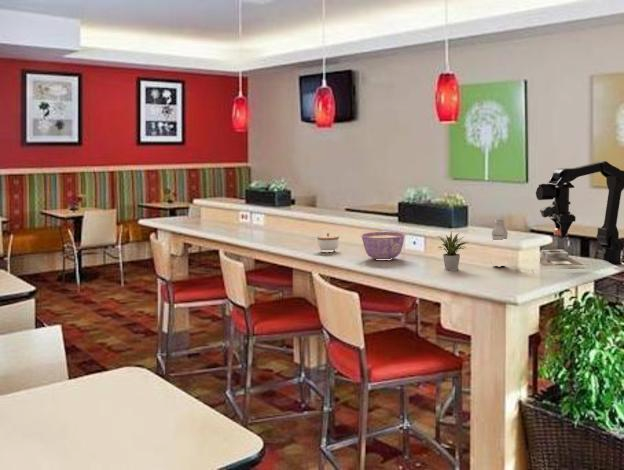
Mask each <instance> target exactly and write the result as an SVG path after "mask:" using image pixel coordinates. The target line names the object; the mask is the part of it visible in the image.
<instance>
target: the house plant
mask: <svg viewBox="0 0 624 470" xmlns="http://www.w3.org/2000/svg"><path fill="white" fill-rule="evenodd" d="M458 235H460V232H459V233H457V234H455V235H454V236H453V230H451V232H450V236H448V235H447V234H446V235H445V237H446V239H444V238H443V236H442V235H439V236H437V237H438V238H440V240H441V241H442V242H443V243H442V244H441V245H442V246H438V247H437V249H438V250H440V251H441V249H442V250H444V251H445V252H446V253H443V254H442V256H443V257H442V258H443V262H444V268H445V269H444V270H446V271H457V270H458V269H459V263H460V258H461V254H460V253H457V252H458V251H459V250H465V249H468V248H467V247H466V246H464V247H462V246H463V245H465V244H469V241H468V242H465V241H464V242H460V241H461V240H462V239H464V238H465V237H466V235H465V236H462V237H460V238H458Z"/></svg>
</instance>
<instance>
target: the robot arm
mask: <svg viewBox="0 0 624 470" xmlns="http://www.w3.org/2000/svg"><path fill="white" fill-rule="evenodd" d="M597 173H600V174H601V175H602V176H603V177H604V178H606V186H607V190H608V194H607V201H606V207H605V214H604V219H603V220H604V221H603V225H602V226H601V227H597V234H596V236H595V237H596V238H597V242H598V243H599V245H600V248H601V249H602V252H601V261H605V262H607V263H610V264H611V265H622V264H623V263H622V262H621V255H622V254H621V251H623V250H624V243H623V242H622V241H621V240H620V237H619V235H620V233H619V229H618V227H617V225H618V224H617V222H618V217H619V210H620V204H621V197H622V192H623V190H624V170H623V169H622V170H621V169H620V168H619V167H617V166H614V165H613V164H611V163H610V162H608V161H606V160H599V161H597V162H593V163H590V164H585V165H581V166H577V167H568V168H567V167H564V168H563V167H560V168H556V169H554V171H553V173H552V176H551V177H550V179H549V180H548V182H547V183H538V187H537V188H536V191H535V196H536V199H537V200H538V201H550V200H551V201H552V200H554V201H552V203H551V205H549V206H546V207H542V208H541V209H539V211H540V214H541V215H540V216H541V217H542V218H549V219H550V220H551V221H552V222H553V223H554V225H555V228H559V227H560V229H561V236H562V238H563V237H565V238H566V236H567V235H566V234H567V232H568V233H569V229H570V227H571V225H572V224H573V223H575V222H576V218H577V217H576V216H575V215H574V214H573V213H571V211H570V205H571V201H570V189H574V188H575V185H573V184H572V183H571V182H572V181H574V180H576V179H577V178H579V177H584V176H588V175H593V174H597Z"/></svg>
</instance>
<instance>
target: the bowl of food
mask: <svg viewBox="0 0 624 470" xmlns="http://www.w3.org/2000/svg"><path fill="white" fill-rule="evenodd" d="M405 235H406V234H405V233H403V232H398V231H397V232H396V231H373V232H372V231H371V232H367V233H362V234H361V239H362V244H363V247H364V250H365V253H366V254H367V256H368V257H370V258H371V259H374V260H375V259H391V258H392V259H394V258H397V257H399V255H400V254H401V252H402V250H403V245H404V240H405Z"/></svg>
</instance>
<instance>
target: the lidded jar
mask: <svg viewBox="0 0 624 470" xmlns="http://www.w3.org/2000/svg"><path fill="white" fill-rule="evenodd" d="M316 238H317V246H318V248H319V250H320V251H322V250H335V249H336V250H337V249H338V248H339V243H340V241H339V239H340V236H339V235H336V234H330V232H328V233H326V235H319V236H317V237H316ZM336 250H335V251H336Z"/></svg>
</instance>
